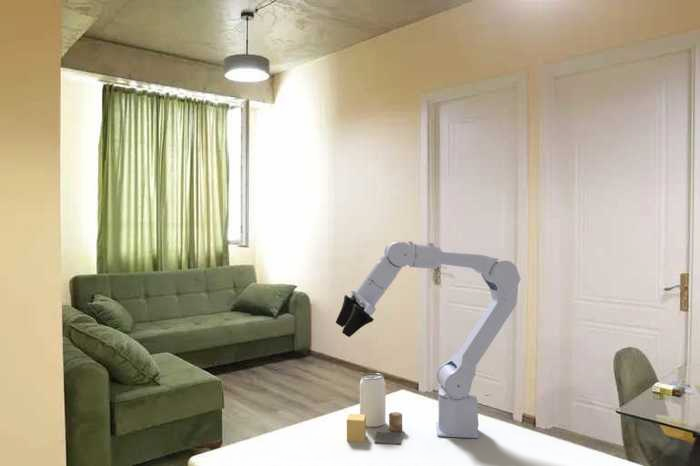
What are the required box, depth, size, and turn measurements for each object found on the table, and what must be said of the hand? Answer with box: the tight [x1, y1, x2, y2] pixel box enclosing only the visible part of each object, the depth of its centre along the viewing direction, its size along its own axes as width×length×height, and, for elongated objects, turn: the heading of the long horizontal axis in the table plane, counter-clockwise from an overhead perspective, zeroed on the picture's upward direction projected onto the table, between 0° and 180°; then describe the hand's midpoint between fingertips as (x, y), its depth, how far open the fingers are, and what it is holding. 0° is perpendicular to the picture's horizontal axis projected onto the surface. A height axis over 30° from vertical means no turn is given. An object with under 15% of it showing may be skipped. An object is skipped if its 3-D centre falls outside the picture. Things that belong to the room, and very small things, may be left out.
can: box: [359, 372, 386, 428], centre depth 135 cm, size 6×6×12 cm
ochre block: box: [346, 413, 367, 443], centre depth 125 cm, size 4×4×5 cm
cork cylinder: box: [388, 411, 403, 434], centre depth 130 cm, size 3×3×4 cm
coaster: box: [374, 431, 402, 445], centre depth 125 cm, size 6×6×1 cm
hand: (342, 329), depth 128 cm, fingers open, 7 cm apart
